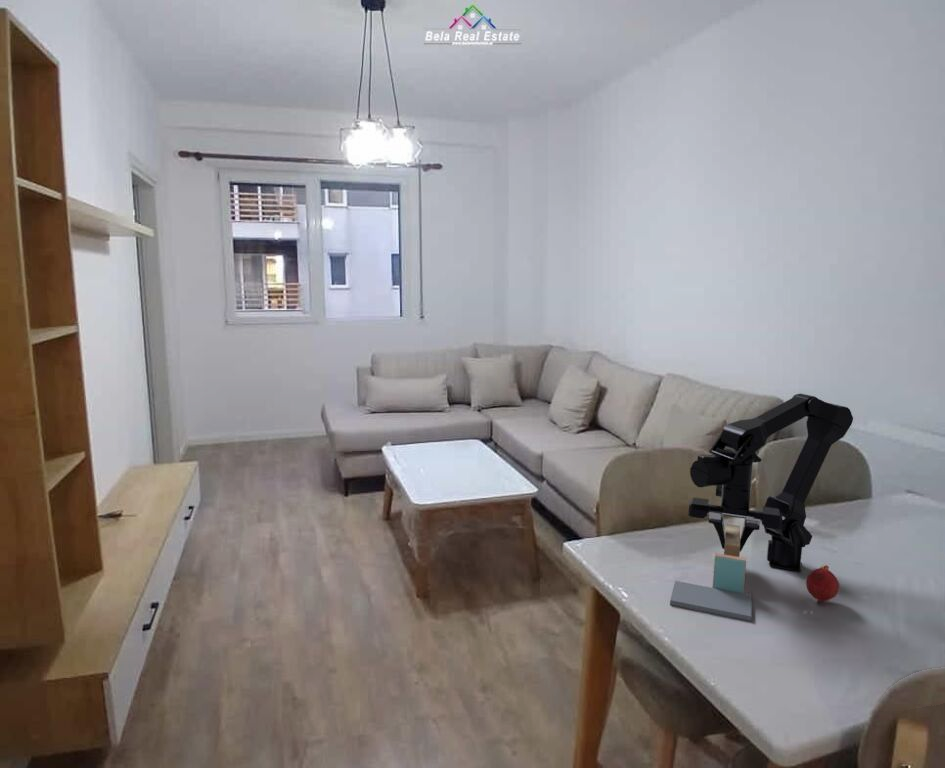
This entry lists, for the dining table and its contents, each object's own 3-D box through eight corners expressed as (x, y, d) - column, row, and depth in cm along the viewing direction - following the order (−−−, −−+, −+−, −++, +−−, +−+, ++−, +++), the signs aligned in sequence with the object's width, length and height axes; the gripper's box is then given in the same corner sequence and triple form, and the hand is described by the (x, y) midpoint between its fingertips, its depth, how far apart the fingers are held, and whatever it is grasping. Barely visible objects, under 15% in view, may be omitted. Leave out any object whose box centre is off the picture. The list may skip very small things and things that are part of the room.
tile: (743, 594, 131) (746, 558, 130) (743, 597, 130) (746, 561, 128) (712, 588, 134) (715, 553, 132) (712, 591, 132) (714, 556, 131)
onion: (825, 611, 124) (829, 574, 123) (798, 598, 129) (802, 562, 128) (843, 604, 127) (847, 567, 126) (816, 592, 132) (820, 556, 131)
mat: (751, 599, 129) (751, 595, 129) (750, 621, 121) (751, 616, 121) (675, 585, 135) (675, 580, 135) (670, 604, 127) (670, 600, 127)
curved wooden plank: (738, 566, 133) (740, 546, 133) (723, 563, 135) (724, 544, 134) (738, 544, 144) (740, 525, 144) (724, 542, 145) (726, 523, 145)
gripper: (782, 476, 140) (777, 542, 143) (694, 466, 148) (690, 529, 150) (785, 492, 130) (778, 562, 133) (690, 480, 137) (686, 547, 140)
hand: (731, 549), depth 139 cm, fingers closed on curved wooden plank, 3 cm apart
